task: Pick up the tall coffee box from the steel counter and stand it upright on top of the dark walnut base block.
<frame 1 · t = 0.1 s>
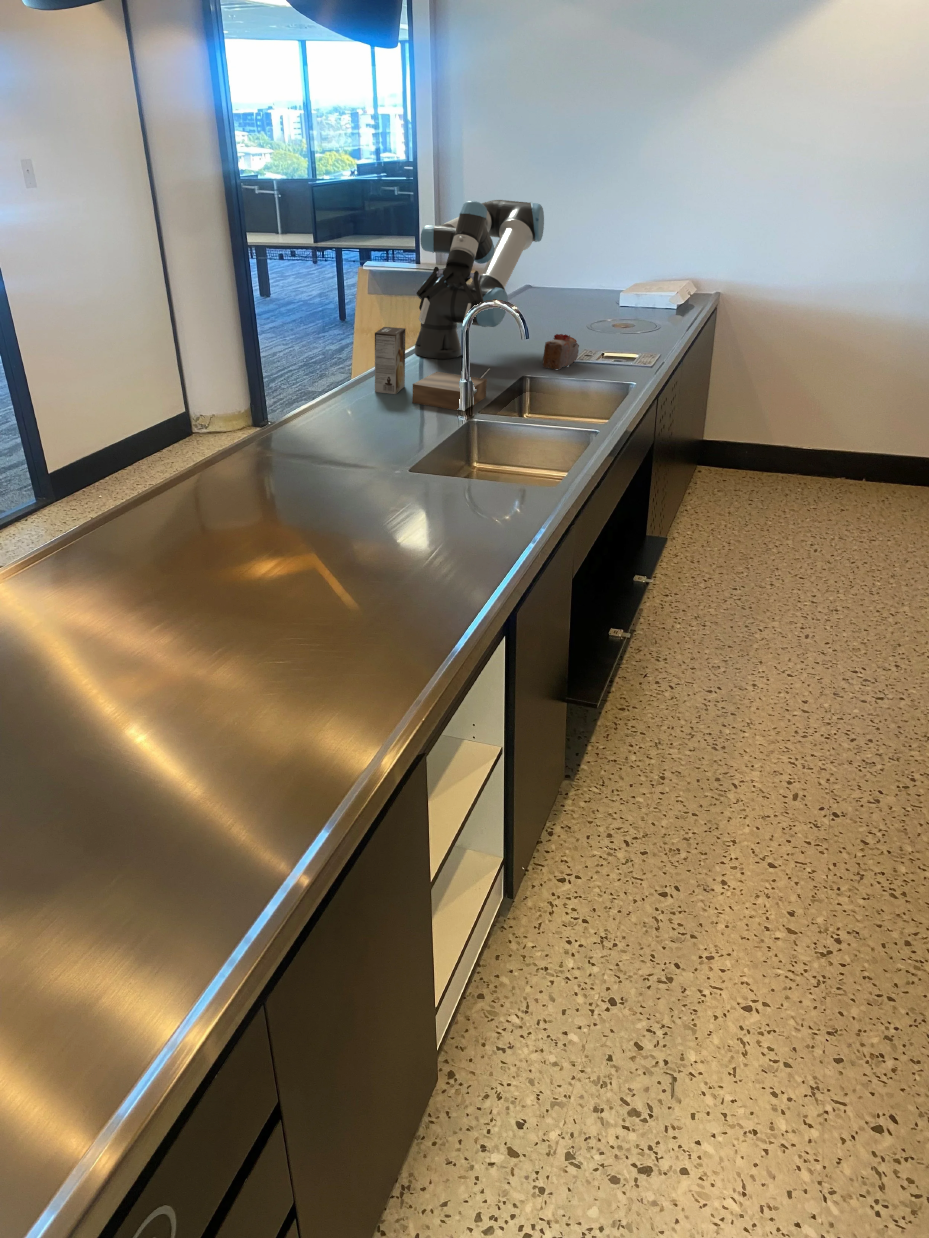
hand: (442, 324, 253), 15 cm above the worktop, tool tilted 35°, fingers open, 13 cm apart
walnut base: (449, 400, 240), on the worktop
coffee box: (389, 390, 247), on the worktop
food item: (559, 366, 283), on the worktop
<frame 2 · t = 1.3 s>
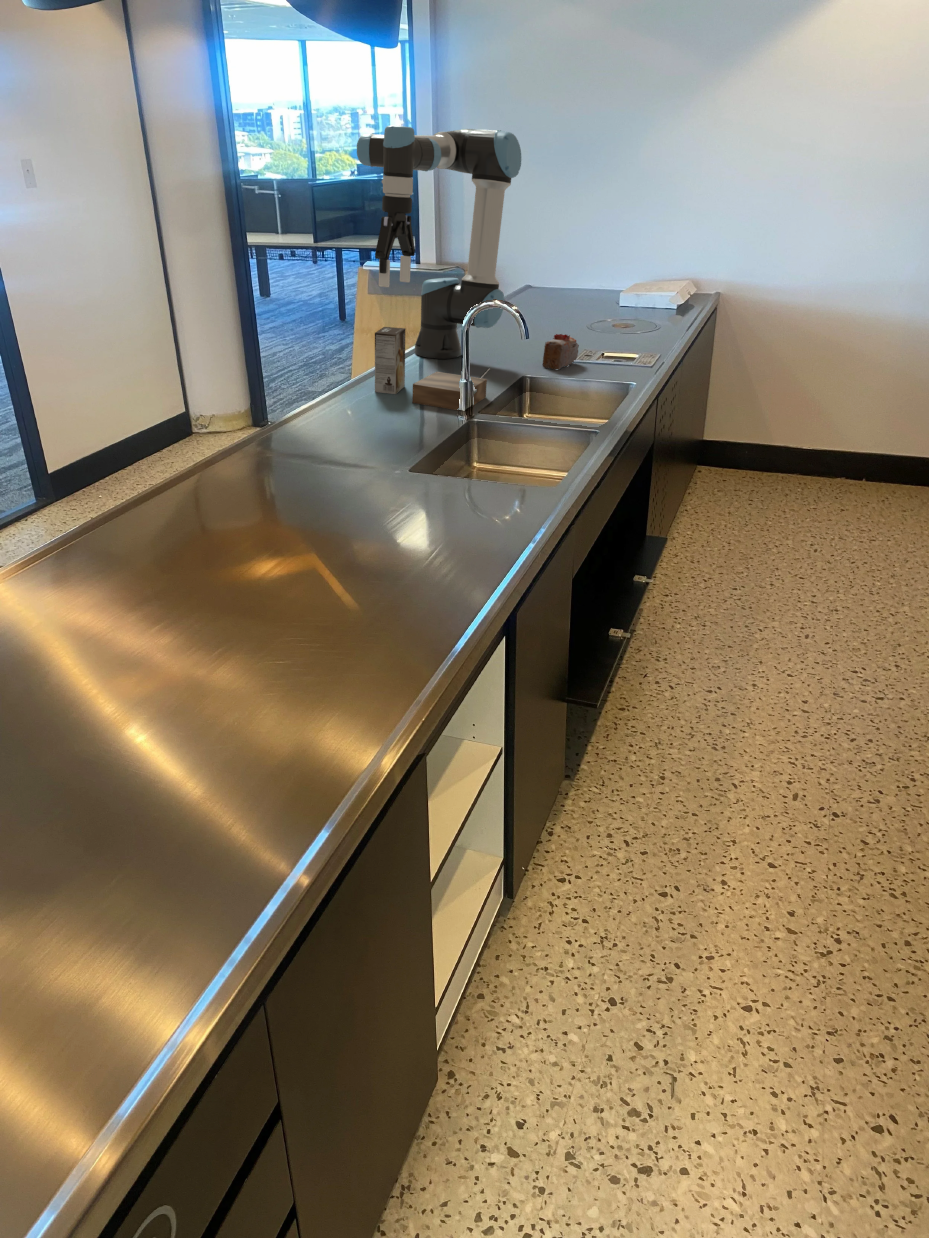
hand: (394, 284, 234), 28 cm above the worktop, tool pointing down, fingers open, 13 cm apart
nothing on the worktop moved.
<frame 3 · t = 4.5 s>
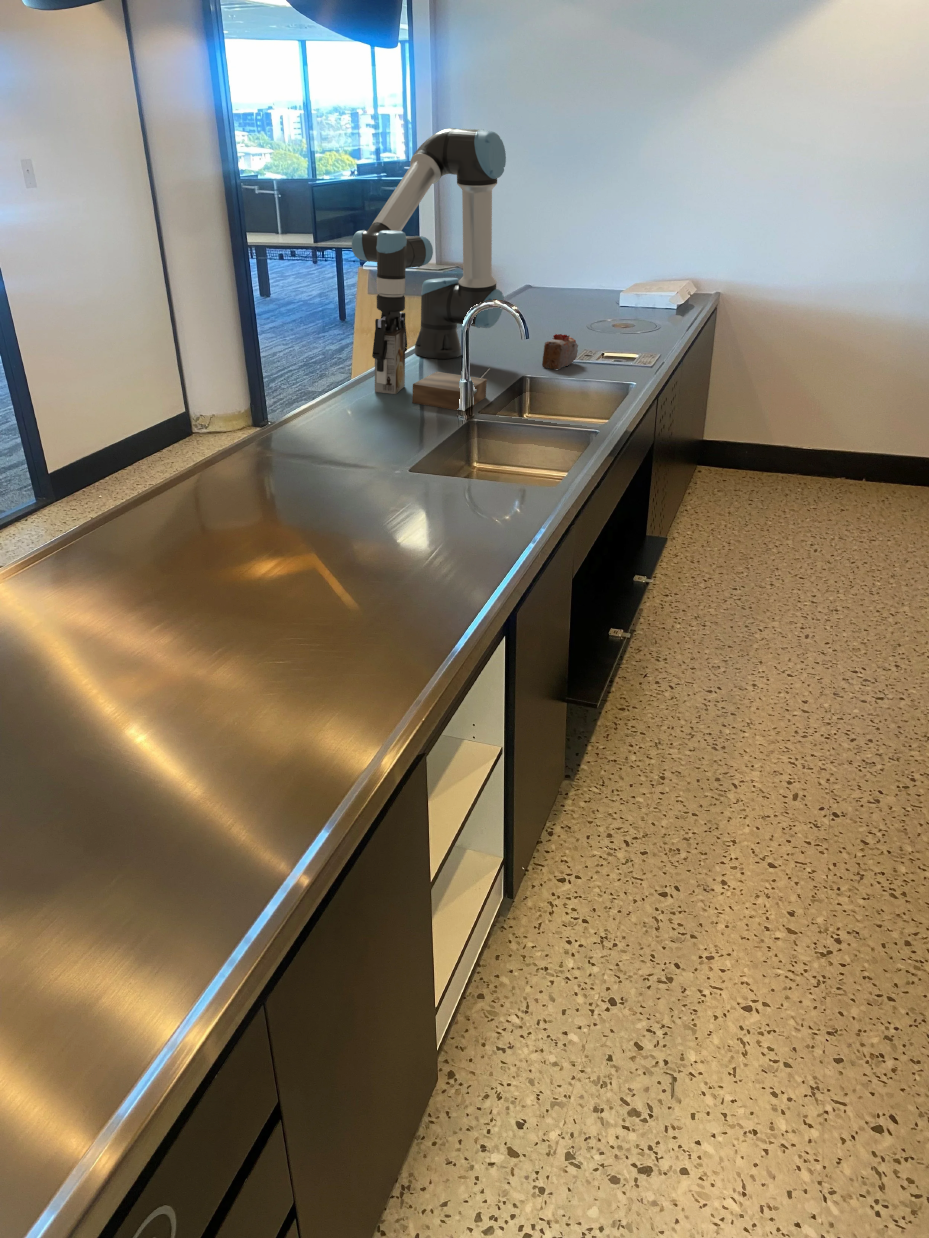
hand: (389, 379, 245), 3 cm above the worktop, tool pointing down, fingers closed on coffee box, 10 cm apart
coffee box: (389, 390, 247), on the worktop, touching gripper
everything else where it was.
when the fingers open (9 cm above the worktop, at t = 11.7 s): coffee box drops 1 cm, resting on walnut base.
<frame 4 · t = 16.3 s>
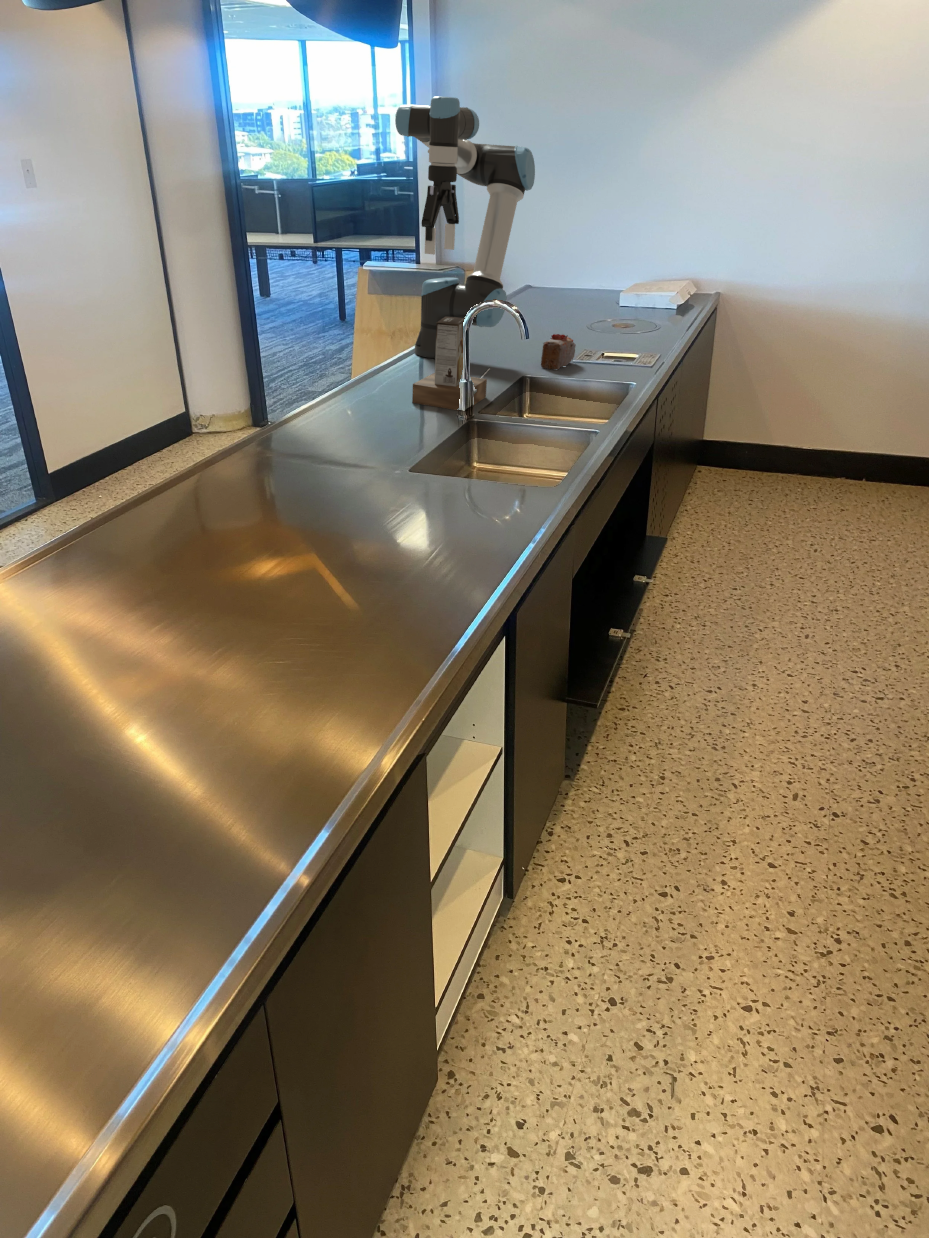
hand: (439, 251, 243), 35 cm above the worktop, tool pointing down, fingers open, 13 cm apart
coffee box: (449, 382, 238), point 5 cm above the worktop, touching walnut base
everything else where it was.
at the end: coffee box inside the target area on the walnut base (0.3 cm from its centre), point 4.8 cm above the walnut base's base; coffee box tilted 0°; coffee box touching walnut base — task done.
